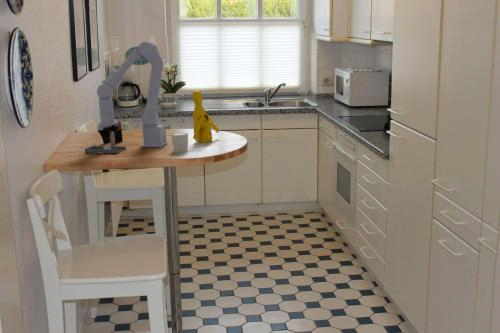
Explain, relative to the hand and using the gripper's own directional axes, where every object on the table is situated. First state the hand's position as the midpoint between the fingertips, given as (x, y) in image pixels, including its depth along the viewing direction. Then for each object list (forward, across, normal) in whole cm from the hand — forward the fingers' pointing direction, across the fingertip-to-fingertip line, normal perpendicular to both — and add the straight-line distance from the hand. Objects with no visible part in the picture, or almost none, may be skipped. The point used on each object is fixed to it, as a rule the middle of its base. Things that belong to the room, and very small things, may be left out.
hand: (109, 144), depth 271 cm
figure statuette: (+2, -16, +37) cm, 40 cm away
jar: (+2, 0, 0) cm, 2 cm away
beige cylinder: (+2, +4, +34) cm, 34 cm away
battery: (+2, -14, -5) cm, 15 cm away
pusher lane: (+2, +8, +3) cm, 9 cm away
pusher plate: (+2, +8, +3) cm, 9 cm away
